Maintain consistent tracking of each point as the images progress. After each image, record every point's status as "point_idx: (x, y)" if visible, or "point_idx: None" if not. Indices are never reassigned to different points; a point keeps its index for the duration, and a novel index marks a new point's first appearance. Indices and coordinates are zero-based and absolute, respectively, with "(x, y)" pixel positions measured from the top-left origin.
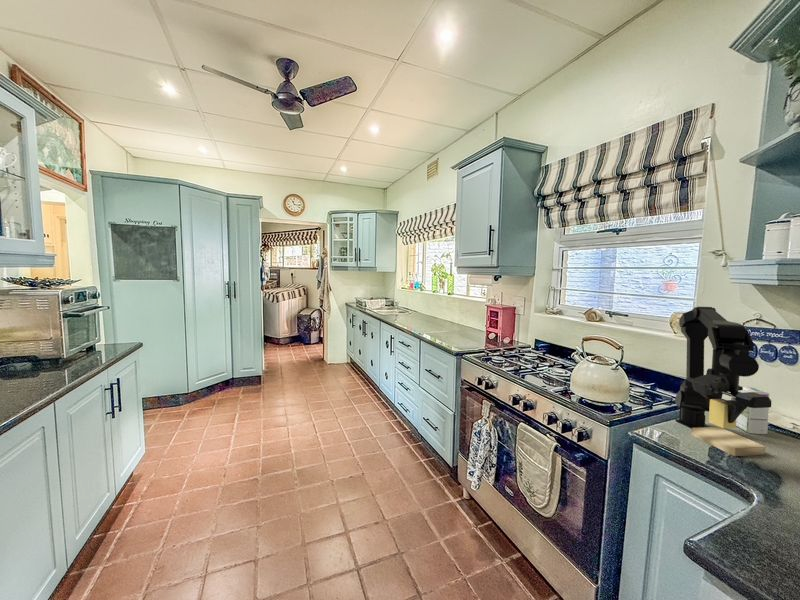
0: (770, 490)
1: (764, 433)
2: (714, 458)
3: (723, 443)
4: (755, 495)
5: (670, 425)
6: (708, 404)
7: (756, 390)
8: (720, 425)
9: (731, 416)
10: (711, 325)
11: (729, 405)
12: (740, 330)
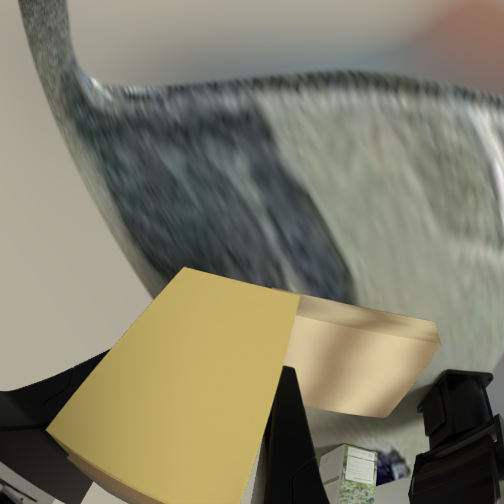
0: (100, 149)
1: (324, 456)
2: (280, 190)
3: (311, 316)
4: (91, 79)
5: (498, 331)
6: (306, 459)
7: None
8: (199, 280)
9: (99, 354)
10: None
11: (25, 416)
12: None
